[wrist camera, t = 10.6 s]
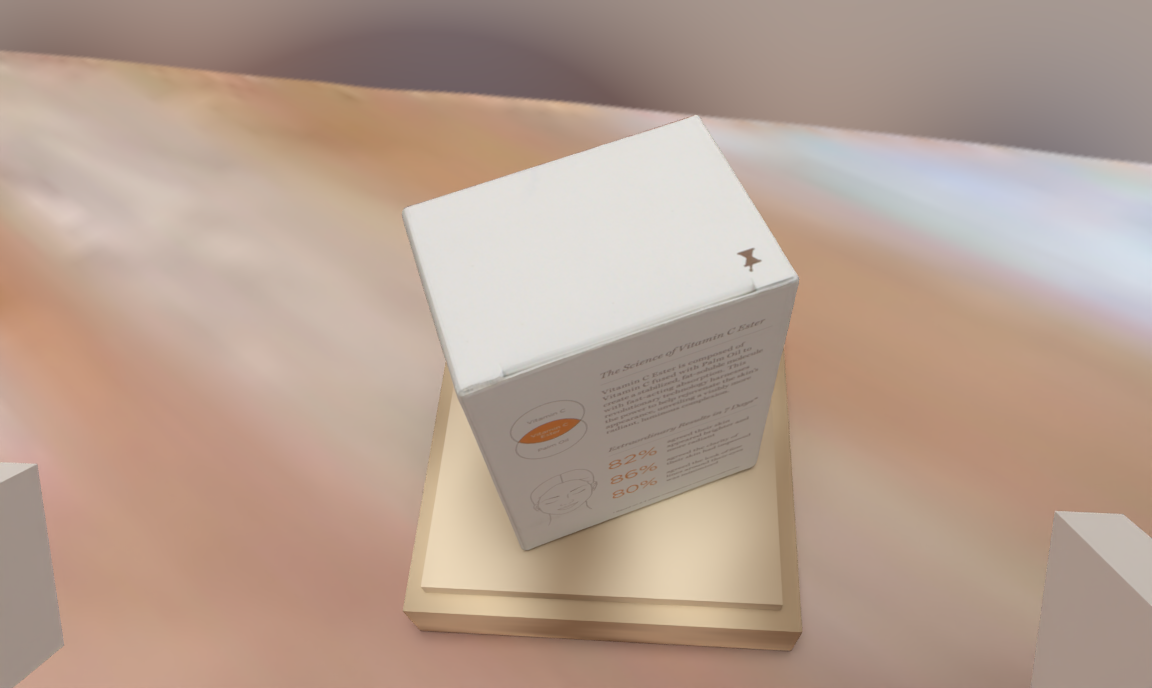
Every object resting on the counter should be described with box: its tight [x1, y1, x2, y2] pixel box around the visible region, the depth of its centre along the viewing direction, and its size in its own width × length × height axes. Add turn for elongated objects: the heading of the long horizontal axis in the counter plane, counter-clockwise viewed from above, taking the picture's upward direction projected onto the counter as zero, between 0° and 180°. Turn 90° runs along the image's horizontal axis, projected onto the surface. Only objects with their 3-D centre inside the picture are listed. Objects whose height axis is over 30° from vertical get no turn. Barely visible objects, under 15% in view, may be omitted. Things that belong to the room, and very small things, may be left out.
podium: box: [403, 348, 802, 651], centre depth 30 cm, size 12×12×3 cm
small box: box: [402, 115, 799, 550], centre depth 24 cm, size 8×6×10 cm
